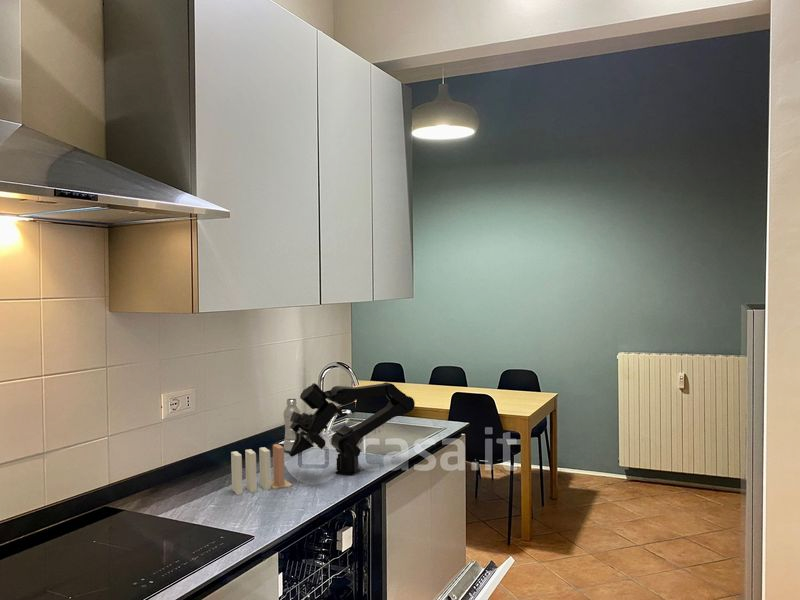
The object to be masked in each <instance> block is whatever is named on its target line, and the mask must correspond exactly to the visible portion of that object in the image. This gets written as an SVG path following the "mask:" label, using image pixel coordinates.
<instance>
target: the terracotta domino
mask: <svg viewBox="0 0 800 600" xmlns="http://www.w3.org/2000/svg"><path fill="white" fill-rule="evenodd" d="M272 462H273V463H272V466H273V467H272V469H273V470H272V471H273V472H272V473H273V476H272V477H273V479H272V480H273V481H274V482H275V483H276V484H277V485H279V486H282V485H285V480H286V479H285V449H284V446H283V445H280V443H275V444H272ZM284 479H285V480H284Z"/></svg>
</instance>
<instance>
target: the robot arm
mask: <svg viewBox="0 0 800 600" xmlns="http://www.w3.org/2000/svg"><path fill="white" fill-rule="evenodd" d="M383 396H386V397H387V399H388V400H389V401H388V402H387V404H386V406H385V407H382V409H380V410H378V411H376V412H375V413H373V414H372V415H370V416H369V417H367V418H366V419H364V420H363V421H361V422H359V423H358V424H356V425H355V426H353V427H350V426H348V425H343V426H342V427H341V428H339V429H336V430H335V431H334V434H332V436H331V438H330V439H331V440H330V445H331V446H332V447H333V448H335V451H336V453H338V454H337V457H336V471H335V474H340V475H346V476H347V475H348V476H354V475H355V474H357V473H358V472H359V471H361V468H359V456H360V454H361V451H362V450H361V448H359V447H358V444H359V443H360V440H361V439H362V438H364V437H366V436H367V435H368V434H370V433H372V432H373V431H375V430H376V429H378V428H380V427H381V426H383V425H384V424H385V423H387V422H389V421H390V420H392V419H394V418H396V417H401V416H404V415H407V414H409V413H411V412H413V411H414V410H415V407H416V406H415V404H416V403H415V399H414V398H413V397H411V396H409V395H407V394H405V393H404V392H403V391H401V390H400V389H399V388H397V386H396V385H394V384H393V383H390V382H386V381H385V382H383V383H377V384H370V385H363V386H356V387H354V386H346V385H345V386H343V385H336V386H333V387H332V388H331V389H329V390H326V391H324V390H322V388H320V386H319V385H318V384H317V383H314V382H313V383H312V384H311V385H309V386H308V387H306V388H304V389H303V391H301V393H300V396H299V398H300V399H301V401H303V402H304V403H305V404H306V405H307V406H308V407H309V408H310V409H311V410H315V409H316V410H315V411H314V413H313V414H312V413H309V414H308V413H305V412H302V413H300V414H299V413H296V412H293V414H292V416H291V419H290V421H293V422H294V423H292V425H291V426H290V428H291V429H292V430H293V431H295V432H294V433H295V437H296V439H295V442H294V444H293V446H292V449H291V451H290V452H288V455H289V456H290V457H291V458H292V457H294V456H296V455H299V454H300V453H302V452H304V451H306V450H308V449H311V448H314V447H315V446H314V444H315V445H317V448H319V450H320V449H321V450H323V449H324V447H325V446H326V440H325V439H324V438H323V437H322V435H320V434H321V433H322V432H323V430H327V429H328V424H329V423H330V422H331V421H332V419H333V418H334V417H335V416H336V415H337V416H340V417H343V408H342V407H340V406H346V405H349V404H353V403H354V402H355V401H357V400H362V399H368V398H375V397H383ZM328 401H329V402H328ZM330 401H331V402H330ZM336 404H337V405H340V406H339V407H338V406H337V405H336Z"/></svg>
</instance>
